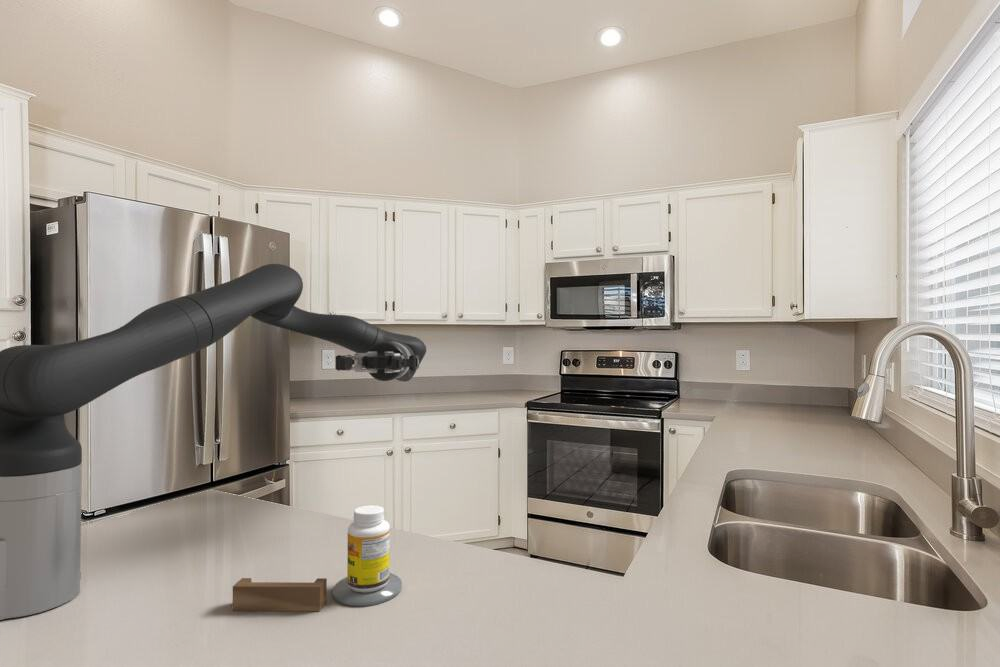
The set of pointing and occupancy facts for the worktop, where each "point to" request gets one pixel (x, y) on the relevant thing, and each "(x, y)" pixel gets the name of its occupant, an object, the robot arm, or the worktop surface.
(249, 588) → the cradle
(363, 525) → the supplement bottle
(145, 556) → the worktop surface
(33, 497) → the robot arm
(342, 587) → the smooth stone
